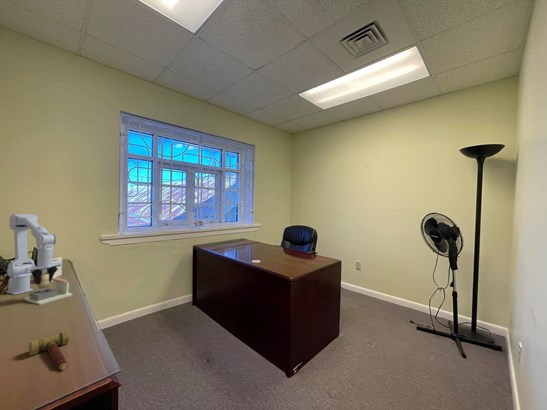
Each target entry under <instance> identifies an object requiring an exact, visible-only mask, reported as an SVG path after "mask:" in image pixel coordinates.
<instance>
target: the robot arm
mask: <svg viewBox="0 0 547 410" xmlns="http://www.w3.org/2000/svg"><path fill="white" fill-rule="evenodd" d="M38 219H39V218H38V215H37V214H36V213H19V214H18V213H12V214H11V215H10V217H9V220H8V223H9V229H10V230H12V231H13V238H14V239H13V240H14V256H15V257H14V259H13V260H12V261H10V262H9V263H8V264H7V269H6V273H7V276H8V277H10V278H9V279H8V284H7V285H8V290H5V292H6V293H8V294H11V295H19V294H24V293H27V292H28V293H29V292H33V291H34V289H33V288H31V276H33V277H34V280H35V284H36V285H38V284H40V283H41V274H42V269H47V273H49V283H52V282H51V280H52V278H53V275H54V274H55V272H56V271H57V269H58V268H56V267H58V266H62V267H63V262H62V263H61V262H59V263H52V259H54V258H53V256H54V245H55V244H56V242H57V236H56V235H55V233H51V232H49V231H48V230H47V229H46V228H45V227H44V226H42V225H41V226H40V224H39V223H38ZM29 229H30V230H31V231H30V233H31V235H32V236H33V238H34V239H35V243H36V249H37V262H36V263H37V264H36V265H35V262H34V260H33V259H31V258H29V254H28V252H29V251H28V235H27V231H28V230H29Z"/></svg>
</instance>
